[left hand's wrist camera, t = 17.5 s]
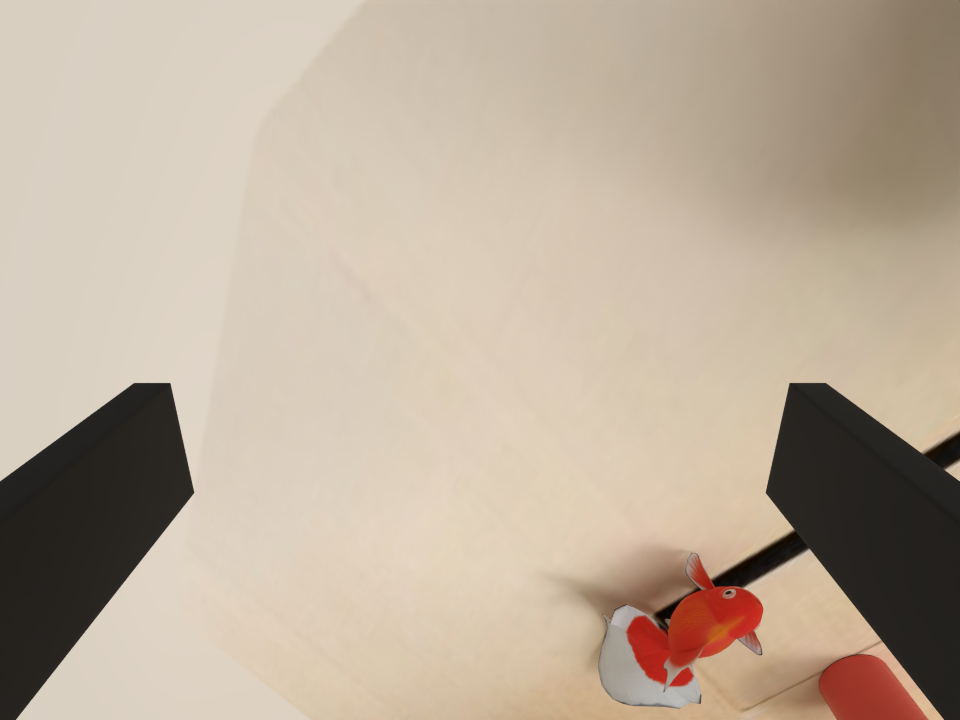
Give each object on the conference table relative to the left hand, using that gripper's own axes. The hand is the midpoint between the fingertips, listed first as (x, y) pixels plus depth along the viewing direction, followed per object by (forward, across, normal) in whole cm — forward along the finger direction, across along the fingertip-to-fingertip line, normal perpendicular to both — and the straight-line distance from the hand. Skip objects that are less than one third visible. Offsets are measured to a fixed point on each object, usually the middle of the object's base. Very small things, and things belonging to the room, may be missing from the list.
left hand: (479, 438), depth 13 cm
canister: (+27, +34, -40) cm, 59 cm away
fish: (+27, +15, -31) cm, 44 cm away
